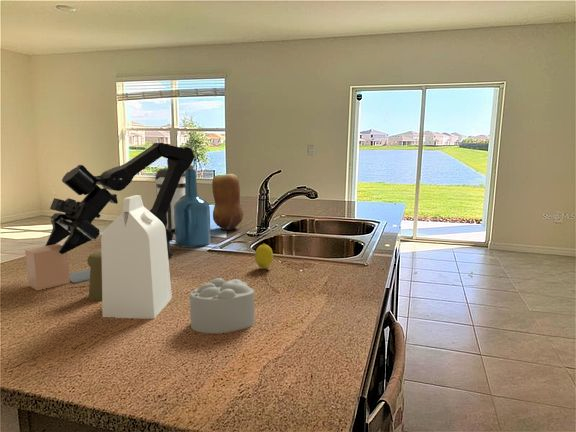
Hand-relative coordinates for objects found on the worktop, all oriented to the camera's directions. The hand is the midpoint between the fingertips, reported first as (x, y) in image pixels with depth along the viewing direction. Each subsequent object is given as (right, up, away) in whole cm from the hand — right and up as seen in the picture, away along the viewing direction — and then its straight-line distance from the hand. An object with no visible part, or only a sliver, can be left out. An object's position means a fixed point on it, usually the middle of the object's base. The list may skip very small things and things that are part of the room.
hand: (53, 250), depth 108 cm
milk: (+29, -12, -15) cm, 34 cm away
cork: (+17, -11, -8) cm, 21 cm away
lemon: (+56, -7, +15) cm, 58 cm away
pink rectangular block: (-1, -9, 0) cm, 9 cm away
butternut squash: (+37, +3, +72) cm, 81 cm away
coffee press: (+13, +3, +71) cm, 72 cm away
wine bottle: (+27, -2, +46) cm, 53 cm away
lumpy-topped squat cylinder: (+49, -14, -22) cm, 56 cm away
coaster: (+5, -8, +8) cm, 12 cm away
